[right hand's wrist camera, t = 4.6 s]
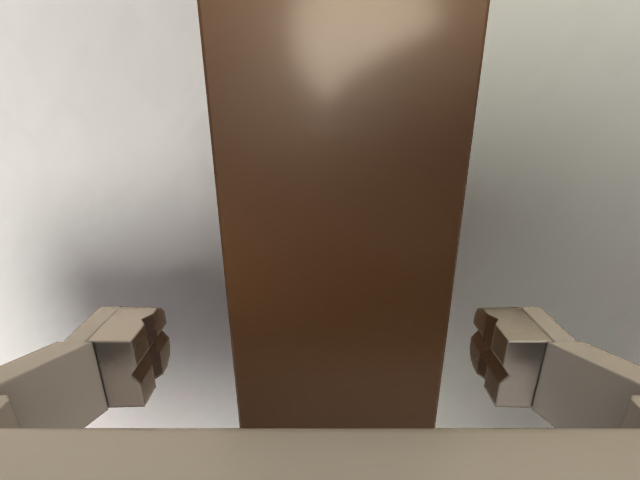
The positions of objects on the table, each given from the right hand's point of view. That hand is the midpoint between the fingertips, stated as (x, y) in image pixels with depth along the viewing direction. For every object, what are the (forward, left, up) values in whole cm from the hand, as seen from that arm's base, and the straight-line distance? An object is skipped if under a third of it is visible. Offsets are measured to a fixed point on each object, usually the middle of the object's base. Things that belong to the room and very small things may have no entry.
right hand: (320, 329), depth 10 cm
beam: (+19, -14, -6) cm, 24 cm away
